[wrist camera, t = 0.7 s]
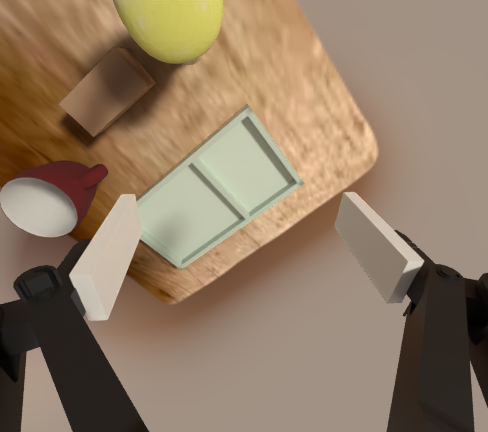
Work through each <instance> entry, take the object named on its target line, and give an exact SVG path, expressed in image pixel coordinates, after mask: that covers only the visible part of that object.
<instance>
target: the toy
mask: <svg viewBox="0 0 488 432" xmlns="http://www.w3.org/2000/svg"><path fill="white" fill-rule="evenodd" d="M113 1H114V4H115V7H116V9H117V12H118V14H119V16H120V18H121V20H122V22H123V24H124V26H125V27H126V29H127V30H128V32H129V34H130V35H131V37H132V38H133V39H134V40H135V42H136V43H137V44H138V45H139V46H140V47H141V48H142V49H143V50H144V51H145V52H147V53H148V54H149V55H150V56H152V57H154V58H156V59H158V60H160V61H163V62H167V63H177V64H180V63H184V64H187V65H193V64H195V63H197V62H198V61H199V60H200V57H201V56H202V55H203V54H204V53H206V52H207V51H208V50H209V49H210V47H211V46H212V45H213V44H214V42H215V40H216V38H217V36H218V34H219V31H220V28H221V23H222V17H223V0H113Z"/></svg>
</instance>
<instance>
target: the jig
mask: <svg viewBox="0 0 488 432" xmlns="http://www.w3.org/2000/svg"><path fill="white" fill-rule="evenodd" d="M303 184H304V182H303V181H302V179H301V178H300V177H299V175H298V174H297V172H296V171H295V170H294V168H293V167H292V165H291V164H290V163H289V161H288V160H287V158H286V157H285V156H284V154H283V153H282V151H281V150H280V149H279V147H278V146H277V145H276V143H275V142H274V140H273V139H272V138H271V136H270V135H269V133H268V132H267V131H266V129H265V128H264V126H263V125H262V124H261V122H260V121H259V119H258V118H257V117H256V115H255V114H254V112H253V111H252V110H251V108H250V107H249V105H248V104H246V105H245V106H244V107H243V108H242V109H241V110H239V111H238V112H237V113H236V114H235V115H234V116H232V117H231V118H230V119H229V120H228V121H227V122H225V123H224V124H223V125H222V126H221V127H219V128H218V129H217V130H216V131H215V132H214V133H212V134H211V135H210V136H209V137H208V138H207V139H205V140H204V141H203V142H202V143H201V144H200V145H198V146H197V147H196V148H195V149H194V150H193V151H191V152H190V153H189V154H188V155H187V156H186V157H184V158H183V159H182V160H181V161H180V162H179V163H177V164H176V165H175V166H174V167H173V168H172V169H170V170H169V171H168V172H167V173H166V174H165V175H163V176H162V177H161V178H160V179H159V180H157V181H156V182H155V183H154V184H153V185H152V186H150V187H149V188H148V189H147V190H146V191H145V192H143V193H142V194H141V195H140V196H139V197H138V198H136V202H137V207H138V212H139V216H140V221H141V226H142V231H143V232H142V235H141V237H140V239H141V240H142V241H143V242H145V243H146V244H147V245H149V246H150V247H151V248H153V249H154V250H155V251H157V252H158V253H159V254H161V255H162V256H163V257H165V258H166V259H167V260H168V261H170V262H171V263H172V264H174V265H175V266H176V267H178V268H179V269H180V270H182V269H183V268H185V267H186V266H188V265H189V264H190V263H192V262H193V261H195V260H196V259H198V258H199V257H200V256H202V255H203V254H205V253H206V252H208V251H209V250H210V249H212V248H213V247H215V246H216V245H218V244H219V243H220V242H222V241H223V240H225V239H226V238H228V237H229V236H230V235H232V234H233V233H235V232H236V231H238V230H239V229H240V228H242V227H243V226H245V225H246V224H248V223H249V222H250V221H252V220H253V219H255V218H256V217H258V216H259V215H260V214H262V213H263V212H265V211H266V210H268V209H269V208H270V207H272V206H273V205H275V204H276V203H277V202H279V201H280V200H282V199H283V198H285V197H286V196H287V195H289V194H290V193H292V192H293V191H295V190H296V189H297V188H299V187H300V186H302V185H303Z"/></svg>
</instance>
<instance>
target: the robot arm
mask: <svg viewBox="0 0 488 432" xmlns="http://www.w3.org/2000/svg"><path fill="white" fill-rule="evenodd" d="M334 227H335V229H336V230H337V232H338V233H339V235H340V236H341V237H342V239H343V241H344V242H345V243H346V245H347V246H348V248H349V249H350V251H351V252H352V254H353V255H354V256H355V258H356V259H357V261H358V262H359V264H360V265H361V267H362V268H363V269H364V271H365V272H366V274H367V275H368V277H369V278H370V280H371V281H372V282H373V284H374V285H375V287H376V288H377V290H378V291H379V293H380V294H381V295H382V297H383V298H384V300H385V301H386V303H402V301H403V299H404V297H405V295H406V294H407V295H408V297H409V298H410V299H411V302H410V303H409V305H408V307H407V309H406V311H405V312H404V314H403V316H406V314H407V316H406V322H405V328H404V334H403V340H402V345H401V351H400V358H399V363H398V369H397V375H396V380H395V386H394V392H393V398H392V404H391V409H390V415H389V421H388V427H387V432H475V431H474V417H473V402H472V388H471V372H470V361H471V364H472V367H473V369H474V372H475V374H476V377H477V380H478V383H479V385H480V388H481V391H482V394H483V396H484V399H485V402H486V404H487V407H488V273H484V274H483V275H482V276H481V277H480V279H479V280H472V279H467V278H463V276H461V274H460V273H458V272H457V271H456V270H454V269H452V268H450V267H448V266H445V265H441V264H435V263H434V262H433V261H432V260H431V259H430V258H429V257H428V256H427V255H426V254H425V253H424V252H422V251H421V250H420V249H419V248H417V246H416V245H415V244H414V243H412V241H411V240H410V239H409V238H408V237H407V236H405V235H404V234H402V233H400V232H399V231H397V230H393V229H392V228H391V227H390V226H389V225H387V223H386V222H385V221H384V220H383V219H382V218H381V217H379V215H377V213H375V212H374V211H373V210H372V209H371V208H370V207H369V206H368V205H367V204H366V203H365V202H364V201H363V200H362V199H361V198H360V197H359V196H358V195H357V194H356V193H355V192H344V193H343V197H342V200H341V204H340V208H339V211H338V215H337V218H336V222H335V226H334ZM142 232H143V231H142V226H141V221H140V216H139V212H138V207H137V202H136V197H135V194H121V196H120V197H119V199H118V201H117V202H116V204H115V205H114V207H113V208H112V210H111V211H110V213H109V214H108V216H107V217H106V219H105V220H104V222H103V224H102V225H101V227H100V228H99V230H98V231H97V233H96V234H95V236H94V237H93V239H82V240H81V241H80V242H78V243H77V244H75V245H74V246H73V247H72V249H71V250H70V252H69V253H68V255H67V256H66V257H65V259H64V261H62V263H61V264H60V265H59V267H58V268H57V269H56V268H55V267H53V266H48V265H45V266H38V267H35V268H32V269H30V270H28V271H26V272H24V273H23V274H21V275H20V276H19V277H17V279H16V280H15V282H14V289H15V290H16V292H17V294H18V295H19V297H20V298H21V299H20V300H16V301H12V302H8V303H4V304H0V432H21V419H22V406H23V392H24V379H25V366H26V352H27V351H29V350H32V349H35V348H38V347H40V348H41V350H42V353H43V356H44V358H45V361H46V363H47V366H48V369H49V371H50V374H51V376H52V379H53V382H54V384H55V387H56V390H57V392H58V395H59V397H60V400H61V403H62V405H63V408H64V410H65V413H66V416H67V418H68V421H69V423H70V426H71V429H72V431H73V432H149V431H148V429H147V427H146V426H145V424H144V422H143V421H142V419H141V417H140V415H139V414H138V412H137V410H136V409H135V407H134V405H133V403H132V402H131V400H130V398H129V396H128V395H127V393H126V391H125V389H124V388H123V386H122V384H121V382H120V381H119V379H118V377H117V376H116V374H115V372H114V370H113V369H112V367H111V365H110V364H109V362H108V360H107V358H106V357H105V355H104V353H103V351H102V350H101V348H100V346H99V344H98V343H97V341H96V340H95V338H94V336H93V334H92V332H91V331H90V329H89V327H88V325H87V324H86V322H85V320H84V319H83V316H84V314H85V313H86V315H87V317H88V319H89V321H96V320H108V318H109V315H110V313H111V310H112V308H113V305H114V303H115V300H116V297H117V295H118V292H119V290H120V287H121V285H122V282H123V280H124V277H125V275H126V272H127V270H128V267H129V265H130V262H131V260H132V257H133V255H134V252H135V250H136V247H137V245H138V242H139V240H140V237H141V235H142Z"/></svg>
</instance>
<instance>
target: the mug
mask: <svg viewBox="0 0 488 432" xmlns="http://www.w3.org/2000/svg"><path fill="white" fill-rule="evenodd" d="M107 174H108V170H107V168H106V167H105V166H104V165H103V164H98V165H95V166H94V167H92V168H90V169H89V168H88V167H87V166H85V165H83V164H80V163H77V162H73V161H56V162H52V163H49V164H45V165H42V166H38V167H35V168H31V169H29V170H26V171H24V172H22V173H20V174H19V175H17V176H15V177H14V178H12V179H10V180H9V181H7V182H6V183H5V184H4V185H3V186H2V188H1V190H0V206H1V209H2V210H3V212H4V214H5V215H6V216H7V218H8V219H9V220H10V221H11V222H12V223H14V224H15V225H16V226H18V227H19V228H20V229H22V230H24V231H26V232H28V233H30V234H33V235H36V236H40V237H46V238H56V237H61V236H65V235H67V234H69V233H70V232H72V231H73V230H74V229H75V228H76V227H77V226H78V224H79V223H80V222H81V221H82V220H83V218H84V217H85V215H86V214H87V212H88V210H89V207H90V205H91V203H92V200H93V198H94V196H95V193H96V183H98V182H99V181H101V180H102V179H103V178H104V177H106V176H107Z"/></svg>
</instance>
